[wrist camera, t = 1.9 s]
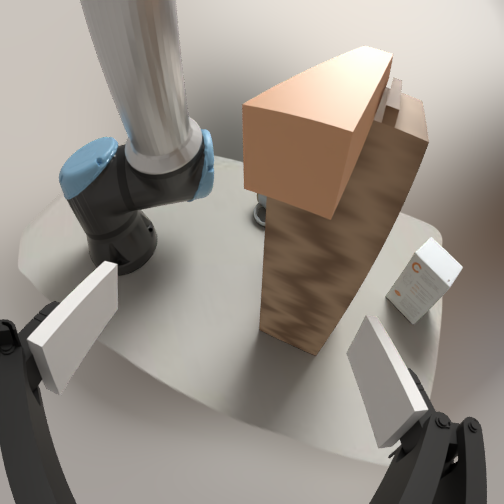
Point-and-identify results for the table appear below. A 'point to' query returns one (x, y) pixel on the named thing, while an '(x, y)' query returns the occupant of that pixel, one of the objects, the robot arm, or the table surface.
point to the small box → (424, 280)
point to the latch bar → (313, 130)
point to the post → (340, 230)
